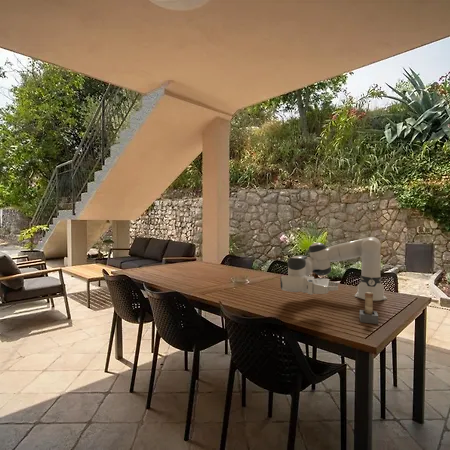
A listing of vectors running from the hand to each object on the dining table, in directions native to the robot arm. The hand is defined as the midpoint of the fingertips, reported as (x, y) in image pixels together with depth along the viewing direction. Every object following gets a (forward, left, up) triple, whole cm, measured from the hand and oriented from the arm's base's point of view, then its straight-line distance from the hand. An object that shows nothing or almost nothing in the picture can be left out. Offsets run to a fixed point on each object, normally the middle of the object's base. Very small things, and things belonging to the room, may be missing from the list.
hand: (338, 286), depth 166 cm
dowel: (0, +15, -15) cm, 21 cm away
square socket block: (-1, +15, -16) cm, 22 cm away
